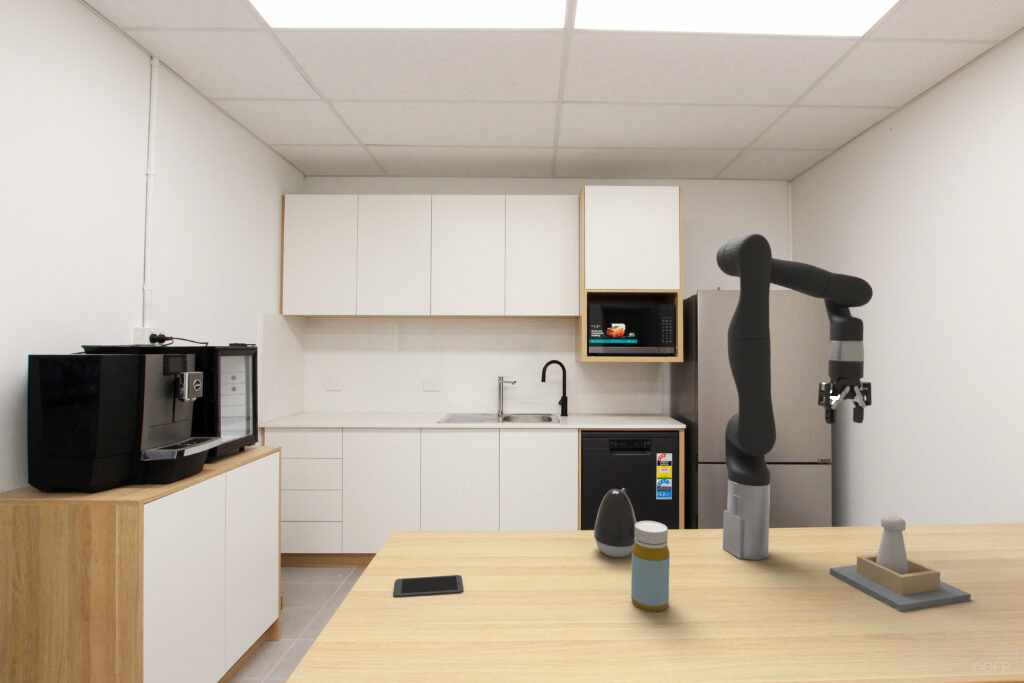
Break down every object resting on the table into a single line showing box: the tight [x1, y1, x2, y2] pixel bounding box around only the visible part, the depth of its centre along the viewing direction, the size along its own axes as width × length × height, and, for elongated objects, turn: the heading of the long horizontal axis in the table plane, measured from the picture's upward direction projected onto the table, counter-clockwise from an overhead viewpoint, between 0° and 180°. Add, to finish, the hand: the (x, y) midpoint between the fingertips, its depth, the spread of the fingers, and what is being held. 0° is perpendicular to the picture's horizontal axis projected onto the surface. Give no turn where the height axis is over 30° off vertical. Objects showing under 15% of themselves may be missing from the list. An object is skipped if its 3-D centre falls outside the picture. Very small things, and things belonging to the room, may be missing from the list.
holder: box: [829, 553, 972, 612], centre depth 111 cm, size 18×16×5 cm
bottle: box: [630, 520, 670, 612], centre depth 103 cm, size 7×7×15 cm
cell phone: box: [392, 574, 465, 598], centre depth 109 cm, size 7×14×1 cm, turn 99°
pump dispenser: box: [593, 487, 637, 558], centre depth 126 cm, size 10×10×15 cm
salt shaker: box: [876, 514, 909, 575], centre depth 112 cm, size 6×6×13 cm
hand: (844, 423), depth 134 cm, fingers open, 8 cm apart
